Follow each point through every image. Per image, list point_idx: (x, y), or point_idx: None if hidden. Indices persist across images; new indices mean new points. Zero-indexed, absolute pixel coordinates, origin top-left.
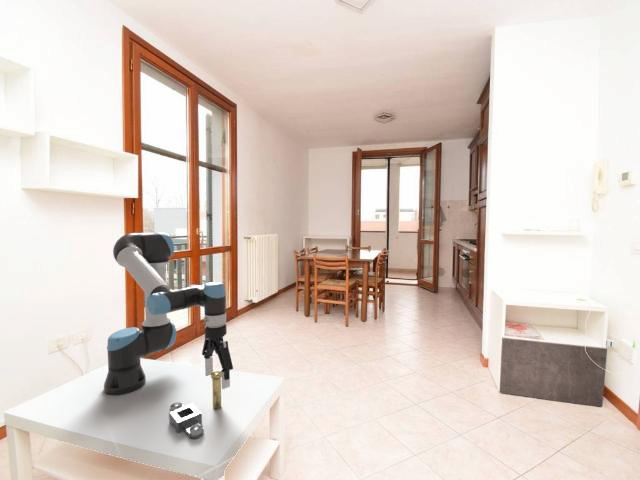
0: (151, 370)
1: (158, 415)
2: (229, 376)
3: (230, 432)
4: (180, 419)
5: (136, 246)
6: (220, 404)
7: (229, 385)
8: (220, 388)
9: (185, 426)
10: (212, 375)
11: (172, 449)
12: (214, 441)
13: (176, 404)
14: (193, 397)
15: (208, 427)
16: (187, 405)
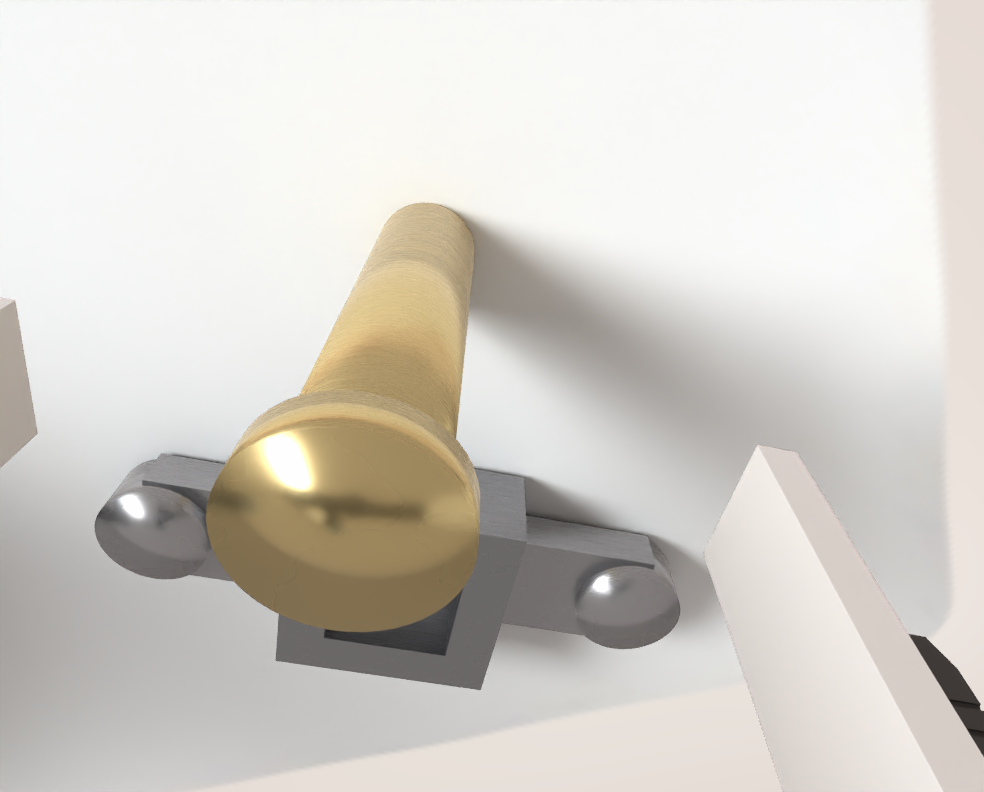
0: None
1: (133, 585)
2: (976, 700)
3: (856, 420)
4: (456, 665)
5: None
6: (470, 252)
7: (801, 473)
8: (456, 339)
9: (507, 616)
10: (349, 618)
11: (594, 689)
12: None
13: (138, 532)
14: (7, 271)
15: (622, 475)
16: None
